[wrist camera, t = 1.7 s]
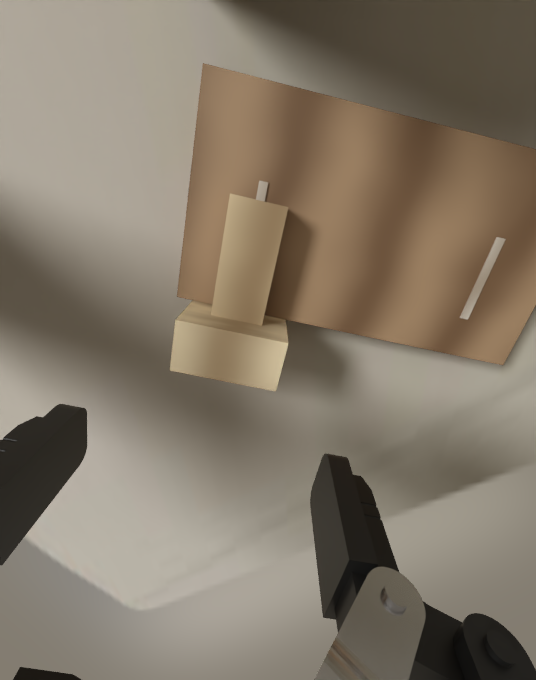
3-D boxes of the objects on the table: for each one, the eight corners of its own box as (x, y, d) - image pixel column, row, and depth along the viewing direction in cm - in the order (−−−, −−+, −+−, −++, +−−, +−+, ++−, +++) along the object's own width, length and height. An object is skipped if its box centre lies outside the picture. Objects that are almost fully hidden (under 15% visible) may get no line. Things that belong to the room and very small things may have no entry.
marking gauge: (195, 329, 24) (169, 370, 18) (215, 191, 20) (191, 183, 14) (275, 346, 24) (275, 391, 18) (307, 213, 21) (322, 214, 15)
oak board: (186, 287, 23) (176, 297, 20) (212, 82, 18) (202, 62, 16) (480, 350, 24) (504, 365, 22) (570, 173, 20) (611, 168, 17)
